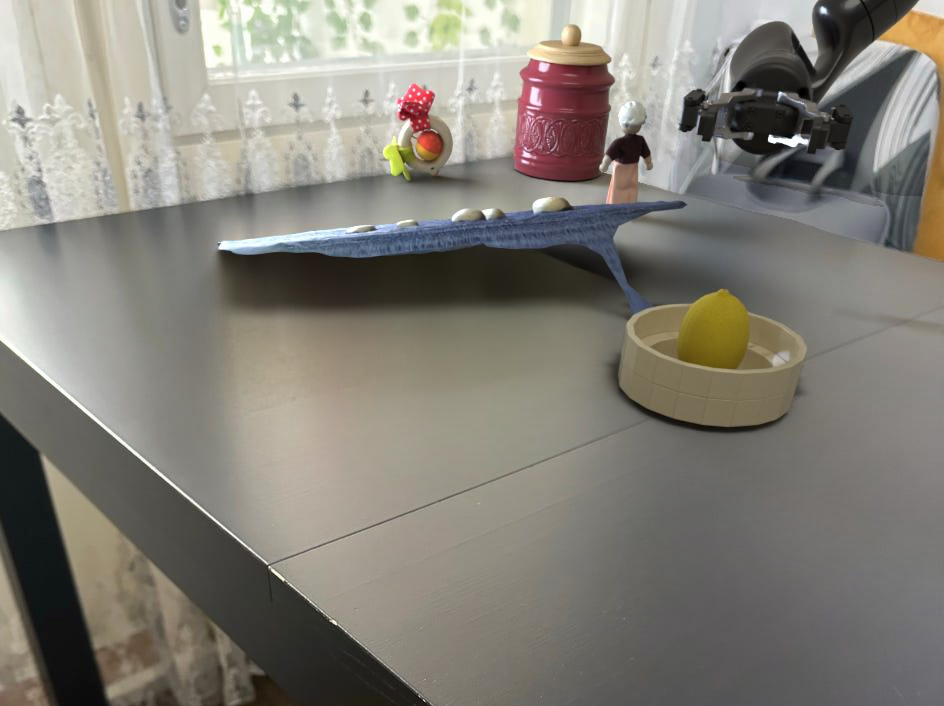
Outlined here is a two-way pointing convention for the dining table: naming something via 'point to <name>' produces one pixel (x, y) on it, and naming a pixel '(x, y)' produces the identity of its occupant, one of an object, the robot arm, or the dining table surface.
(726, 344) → the lemon
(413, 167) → the bird rattle
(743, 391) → the bowl
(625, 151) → the grandmother figurine
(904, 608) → the dining table surface
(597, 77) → the kitchen canister
